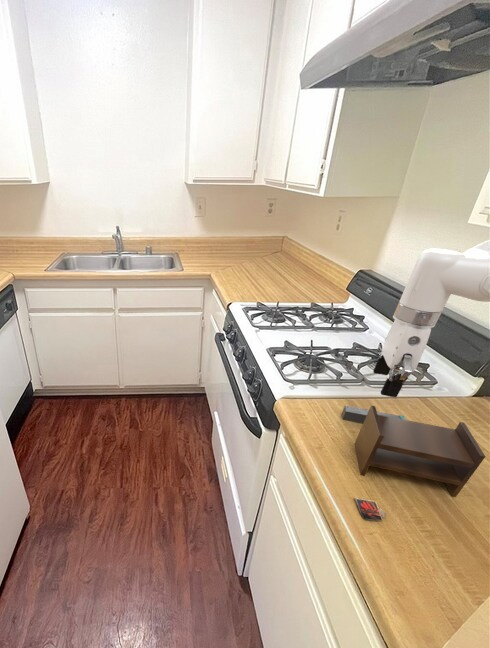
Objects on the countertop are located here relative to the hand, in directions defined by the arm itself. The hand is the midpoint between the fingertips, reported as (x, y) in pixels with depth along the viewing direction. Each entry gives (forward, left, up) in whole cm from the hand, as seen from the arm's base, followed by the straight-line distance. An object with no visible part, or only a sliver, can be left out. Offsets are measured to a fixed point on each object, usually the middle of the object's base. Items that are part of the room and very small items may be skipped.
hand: (383, 384), depth 80 cm
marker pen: (0, 0, -11) cm, 11 cm away
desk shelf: (-4, +15, -11) cm, 19 cm away
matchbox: (+4, +29, -11) cm, 31 cm away
